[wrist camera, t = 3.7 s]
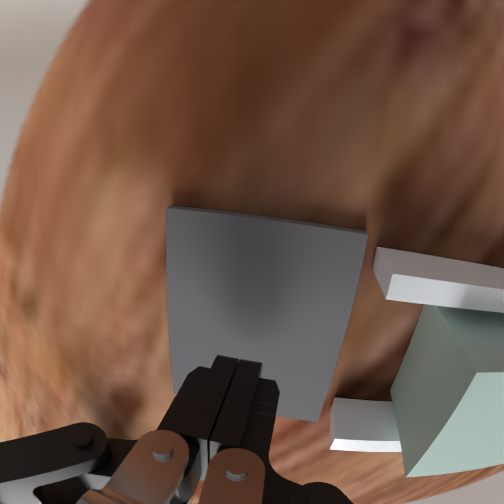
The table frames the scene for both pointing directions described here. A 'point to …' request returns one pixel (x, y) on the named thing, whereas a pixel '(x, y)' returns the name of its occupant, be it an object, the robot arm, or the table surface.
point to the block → (451, 392)
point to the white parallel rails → (415, 291)
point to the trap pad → (261, 298)
